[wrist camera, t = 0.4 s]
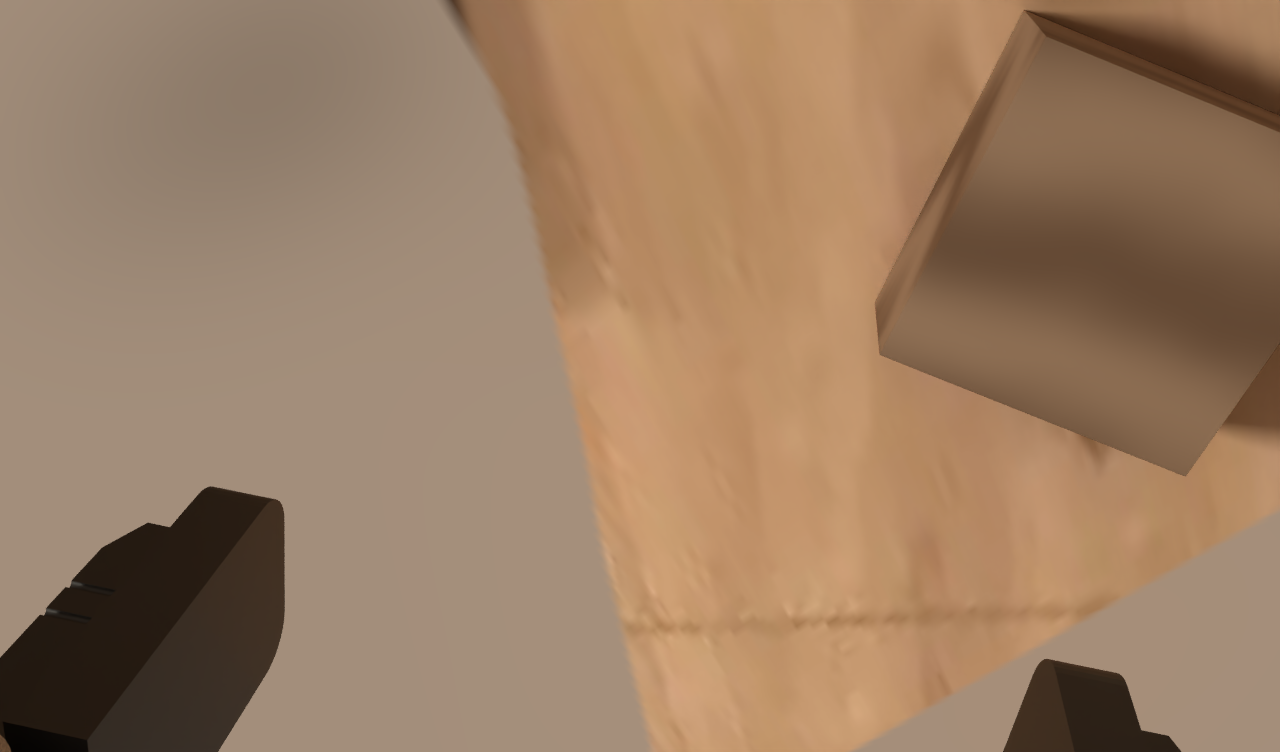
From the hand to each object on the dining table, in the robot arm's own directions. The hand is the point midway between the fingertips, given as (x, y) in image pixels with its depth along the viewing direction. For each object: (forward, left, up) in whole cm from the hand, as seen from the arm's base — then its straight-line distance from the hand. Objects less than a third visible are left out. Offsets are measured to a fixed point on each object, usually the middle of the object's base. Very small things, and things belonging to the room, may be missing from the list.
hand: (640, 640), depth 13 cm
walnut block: (0, +11, -27) cm, 29 cm away
